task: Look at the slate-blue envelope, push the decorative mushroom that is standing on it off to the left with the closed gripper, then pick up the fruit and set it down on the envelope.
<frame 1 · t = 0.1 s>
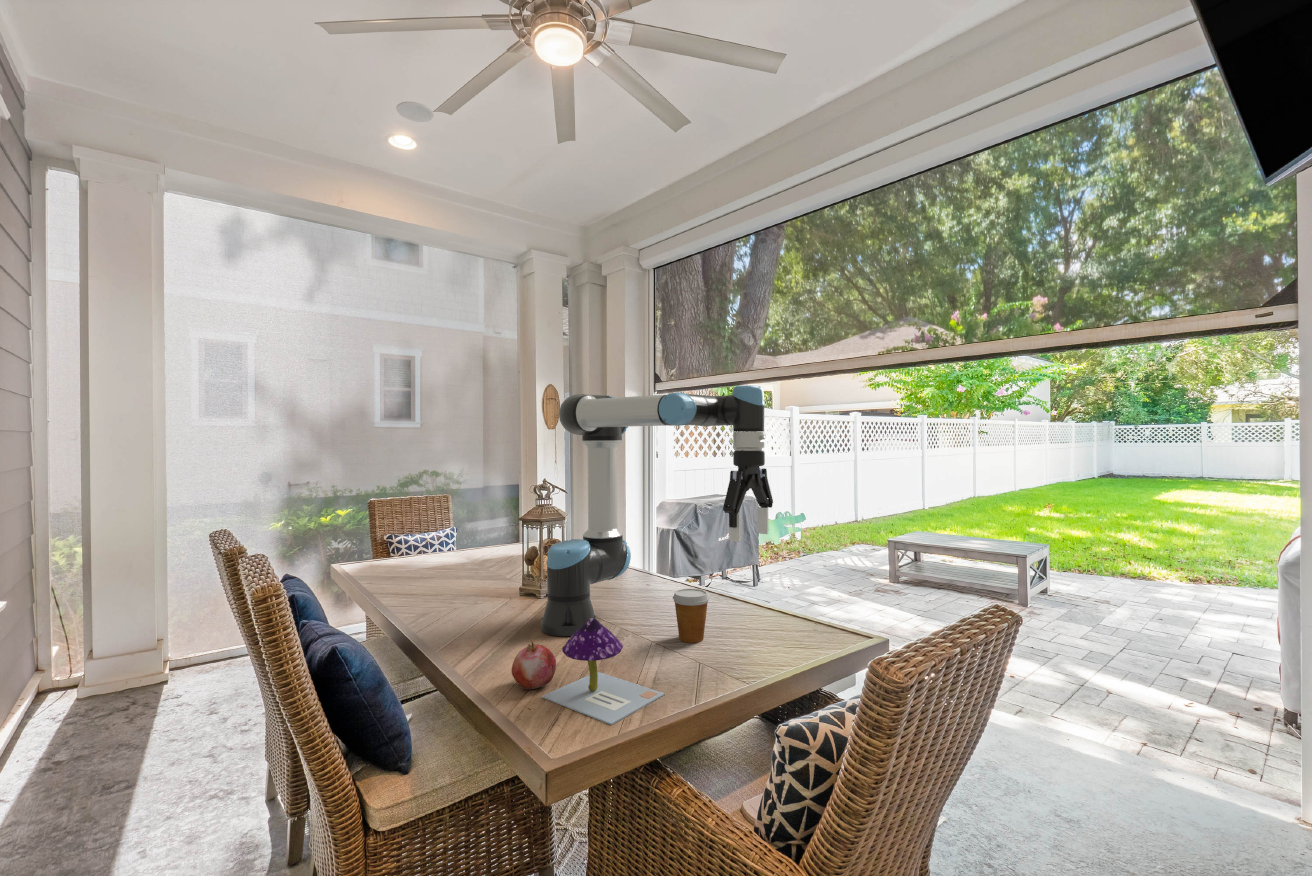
hand: (749, 537, 144), 28 cm above the table, fingers open, 13 cm apart
letter: (603, 696, 121), on the table
fruit: (534, 686, 126), on the table
disposable coffee cup: (691, 639, 155), on the table
decorative mushroom: (593, 691, 122), resting on letter
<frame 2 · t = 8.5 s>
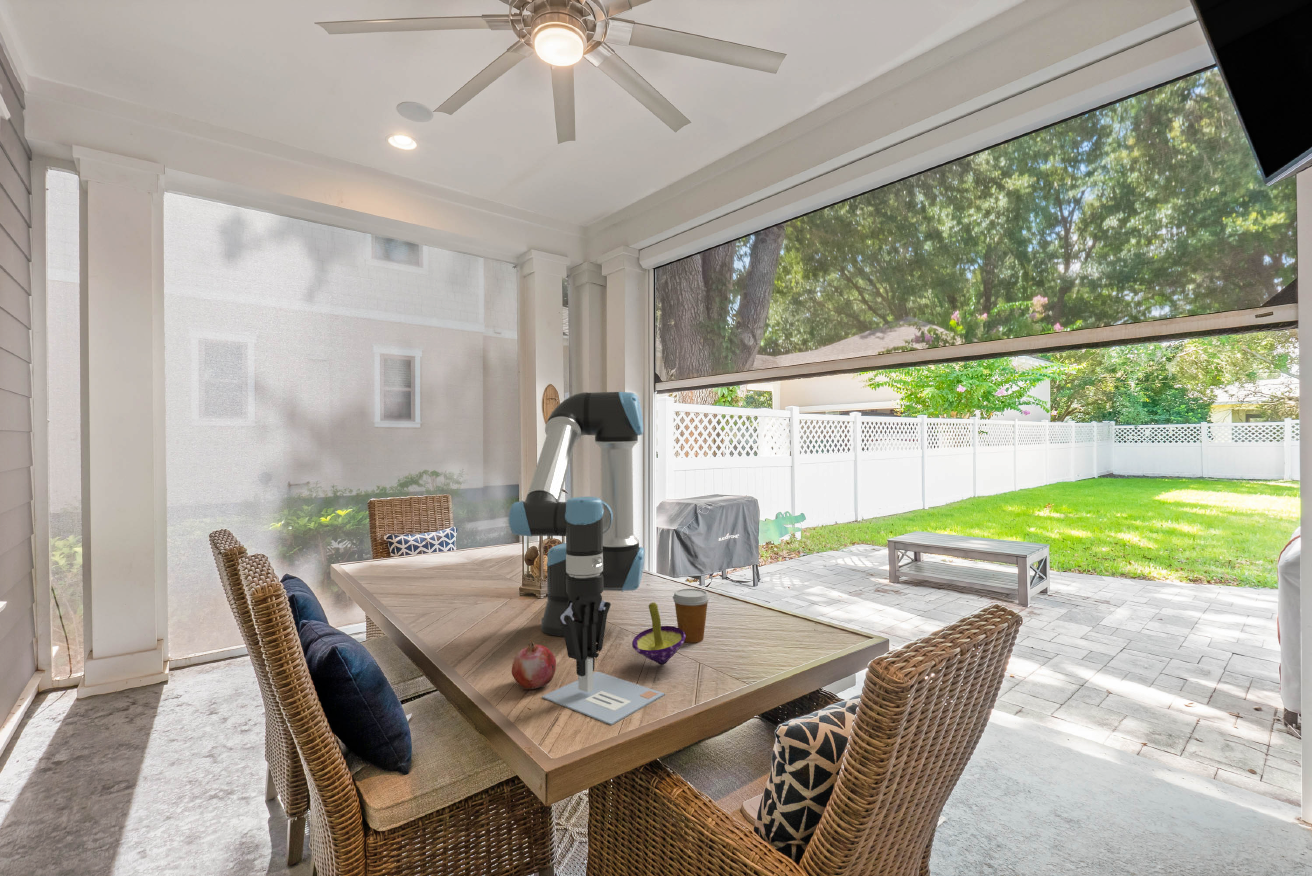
hand: (585, 689, 121), 1 cm above the table, fingers closed
decorative mushroom: (652, 601, 135), point 15 cm above the table
everything else where it was.
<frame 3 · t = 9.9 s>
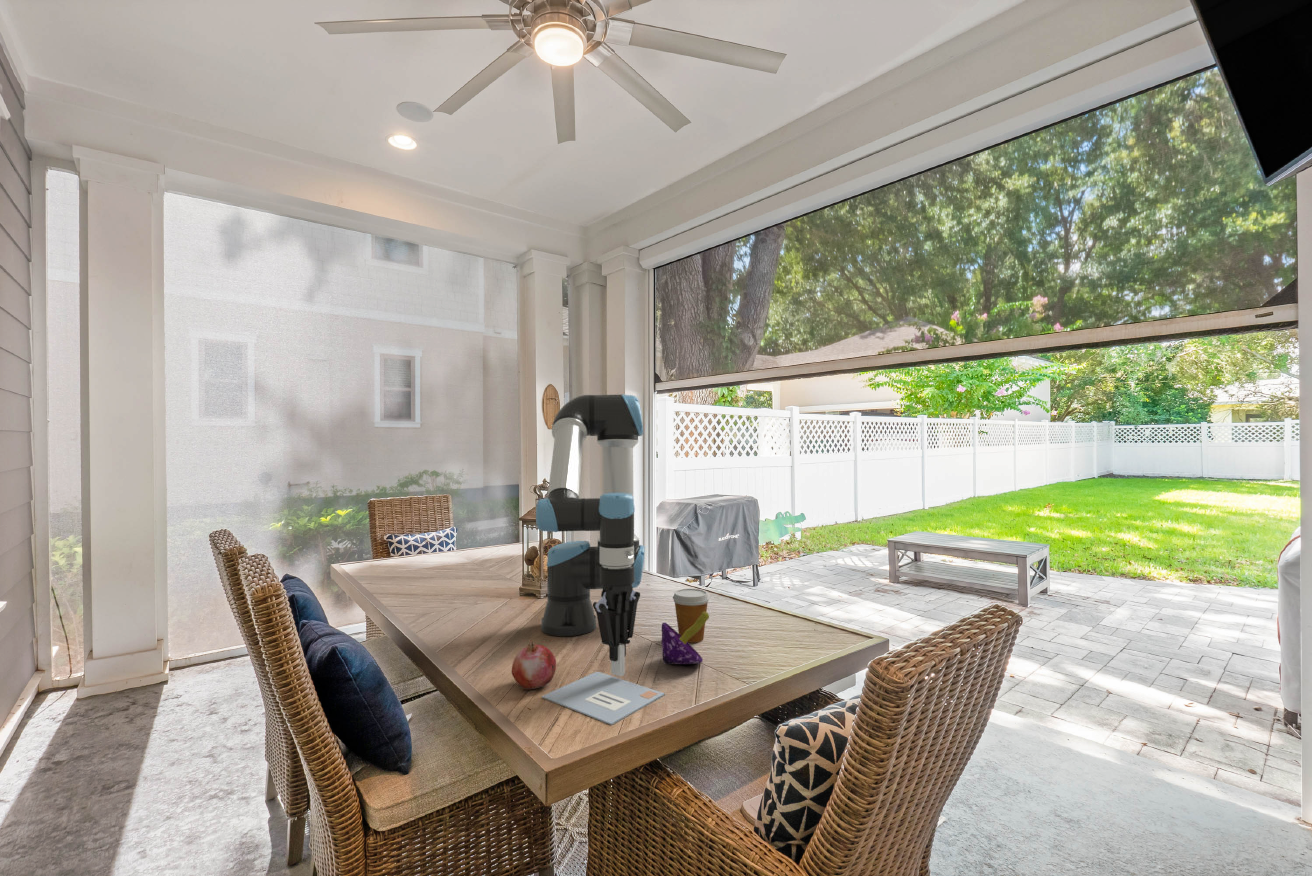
hand: (617, 673, 129), 1 cm above the table, fingers closed
decorative mushroom: (708, 612, 139), point 11 cm above the table
everything else where it was.
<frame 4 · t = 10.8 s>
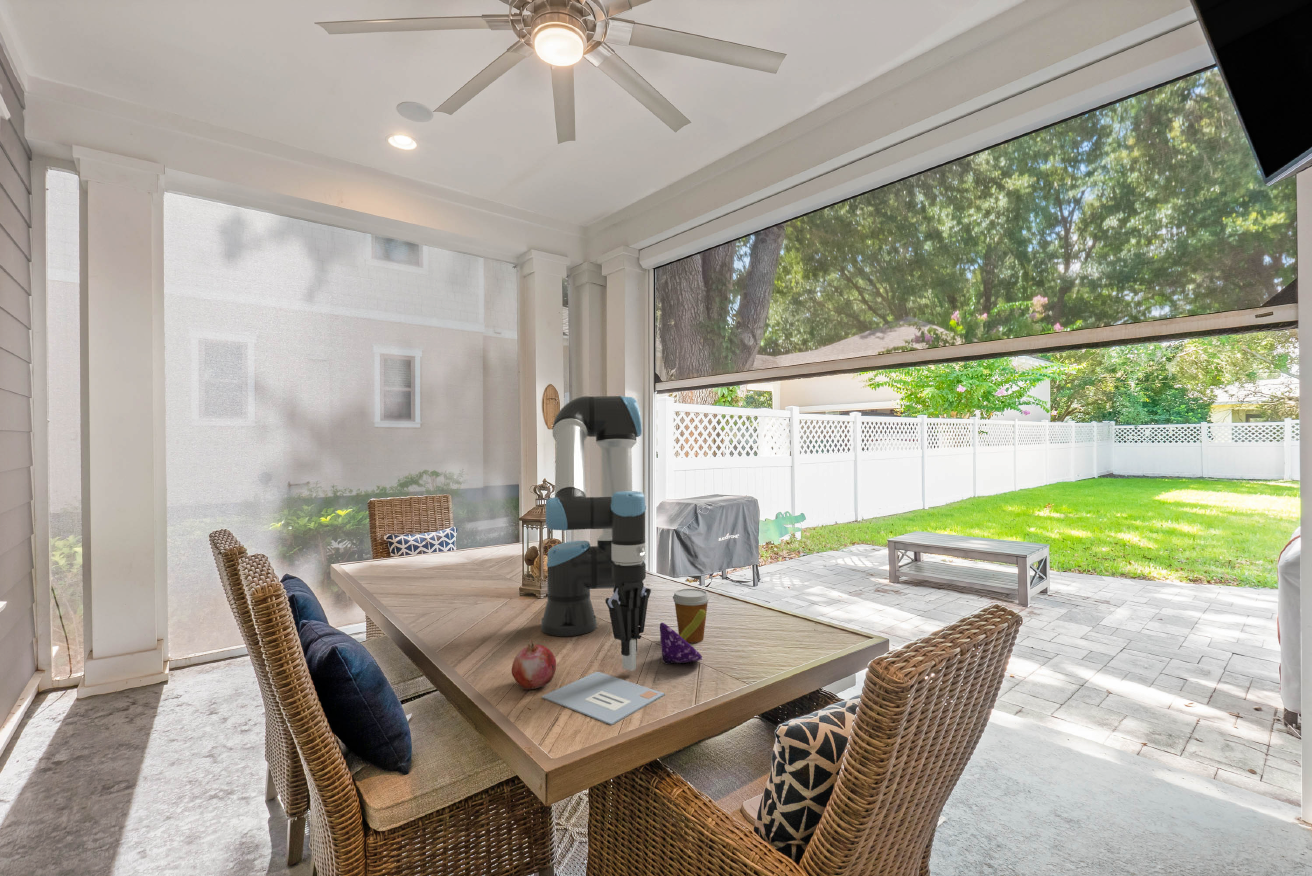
hand: (629, 668, 132), 1 cm above the table, fingers closed
decorative mushroom: (704, 609, 141), point 11 cm above the table
everything else where it was.
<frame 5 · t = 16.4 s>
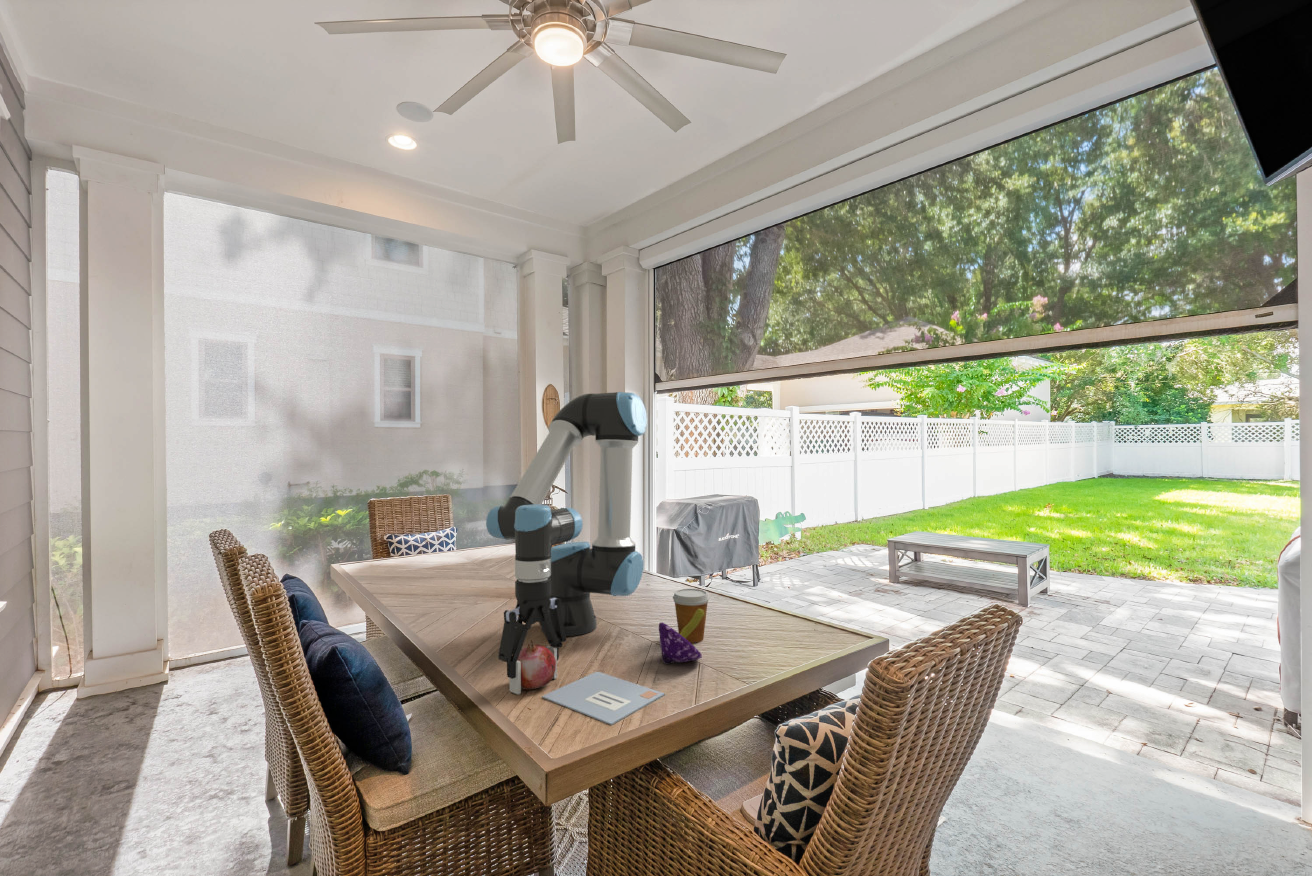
hand: (533, 684, 126), 0 cm above the table, fingers open, 9 cm apart
decorative mushroom: (703, 608, 142), point 11 cm above the table
everything else where it was.
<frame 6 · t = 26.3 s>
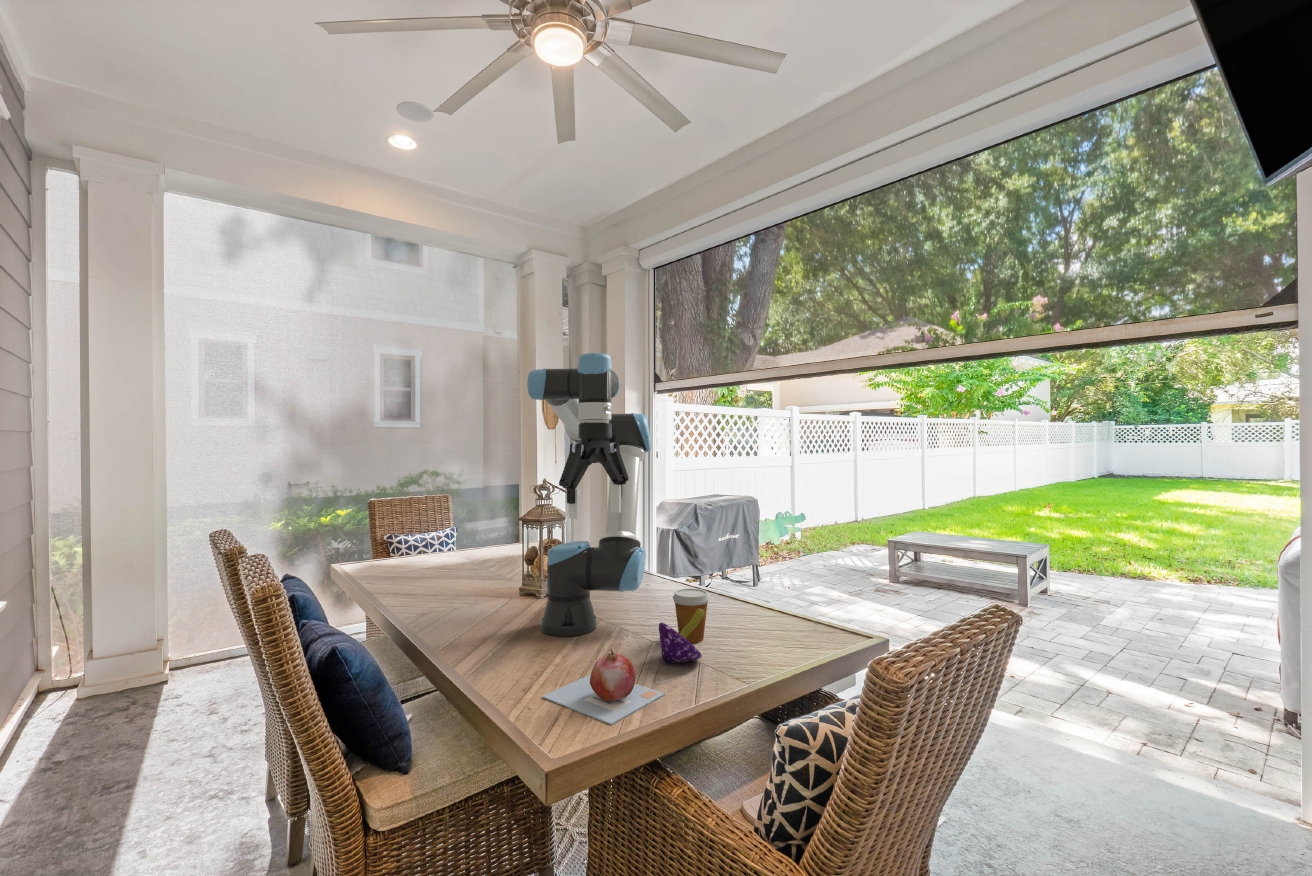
hand: (595, 515, 136), 35 cm above the table, fingers open, 13 cm apart
fruit: (611, 698, 119), resting on letter
everything else where it was.
at the end: fruit inside the target area on the letter (2.4 cm from its centre), point 0.2 cm above the letter's base; decorative mushroom inside the target area (4.0 cm from its centre), point 11.4 cm above the table; the gripper is holding nothing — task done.
